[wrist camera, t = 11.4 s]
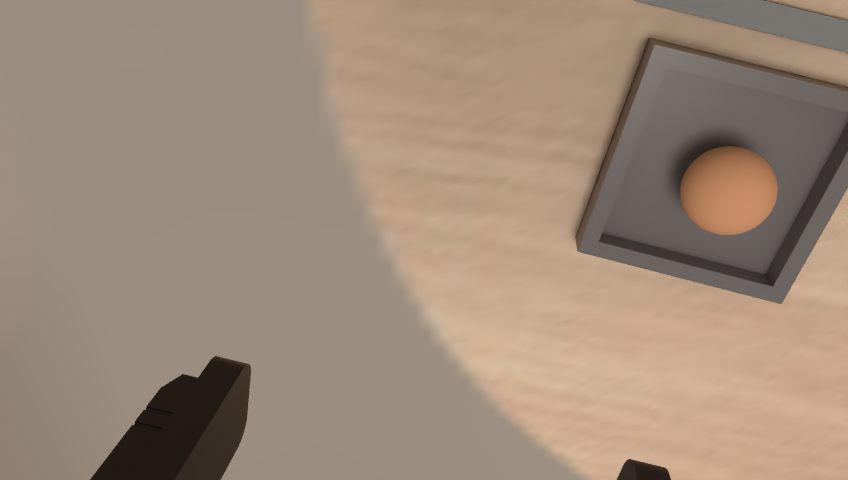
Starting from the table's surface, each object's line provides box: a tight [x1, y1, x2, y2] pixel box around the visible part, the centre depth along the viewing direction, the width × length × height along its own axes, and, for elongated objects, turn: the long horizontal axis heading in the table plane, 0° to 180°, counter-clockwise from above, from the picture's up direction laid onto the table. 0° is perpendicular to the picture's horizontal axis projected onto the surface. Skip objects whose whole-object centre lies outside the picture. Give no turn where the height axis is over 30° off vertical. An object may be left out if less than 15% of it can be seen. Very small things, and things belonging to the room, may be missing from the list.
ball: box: [680, 146, 778, 235], centre depth 37 cm, size 5×5×5 cm
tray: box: [576, 38, 848, 304], centre depth 39 cm, size 13×13×2 cm
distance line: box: [635, 0, 848, 53], centre depth 35 cm, size 2×16×1 cm, turn 78°
